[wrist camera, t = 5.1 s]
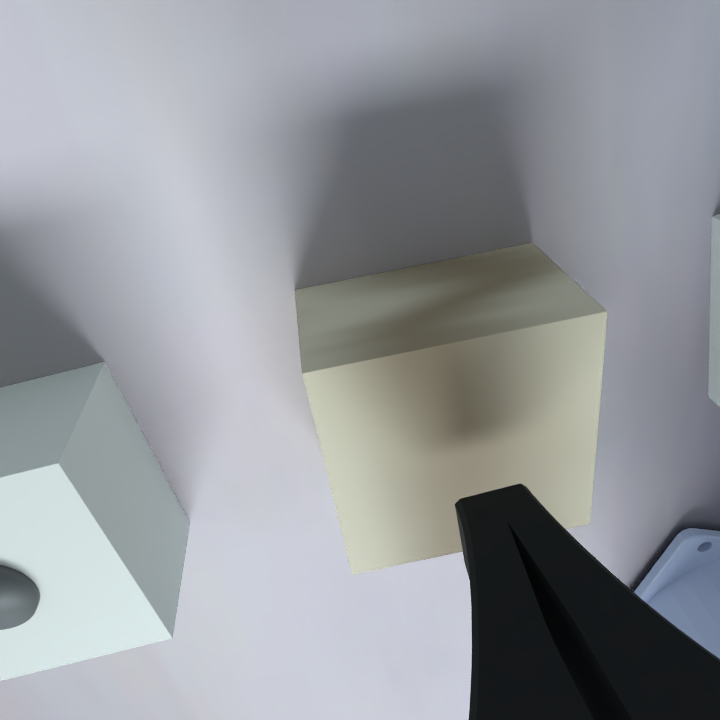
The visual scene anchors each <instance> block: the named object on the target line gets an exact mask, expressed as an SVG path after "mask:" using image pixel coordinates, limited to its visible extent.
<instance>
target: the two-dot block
mask: <svg viewBox="0 0 720 720" xmlns="http://www.w3.org/2000/svg"><path fill="white" fill-rule="evenodd" d="M708 397H709V398H710V399H711V400H712V401H714V402H715V403H716V404H717V405H718V406H719V407H720V214H718V215H715V216H712V236H711V286H710V337H709V388H708Z"/></svg>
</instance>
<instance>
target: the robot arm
mask: <svg viewBox="0 0 720 720" xmlns="http://www.w3.org/2000/svg"><path fill="white" fill-rule="evenodd" d="M455 509H456V515H457V520H458V526H459V532H460V538H461V543H462V549H463V555H464V561H465V565H466V569H467V572H468V575H469V579H470V589H471V605H472V672H471V694H470V711H469V720H720V531H714V530H706V529H697V528H688V529H685V530H683V531H681V532H680V533H679V534H678V535H677V536H676V537H675V538H674V540H673V541H672V542H671V544H670V545H669V546H668V548H667V549H666V550H665V552H664V553H663V554H662V556H661V557H660V558H659V560H658V561H657V562H656V564H655V565H654V566H653V567H652V569H651V570H650V571H649V573H648V574H647V575H646V577H645V578H644V579H643V581H642V582H641V583H640V585H639V586H638V587H637V589H636V590H635V591H634V592H633V591H632V590H630V589H629V588H628V587H627V586H626V585H625V584H623V583H622V582H621V581H620V580H619V579H618V578H617V577H615V576H614V575H613V574H612V573H611V572H610V571H609V570H608V569H607V568H605V567H604V566H603V565H602V564H601V563H600V562H599V561H598V560H597V559H596V558H595V557H594V556H593V555H591V554H590V553H589V552H588V551H587V550H586V549H585V548H584V547H583V546H582V545H581V544H580V543H579V542H578V541H577V540H576V539H575V538H574V537H573V536H572V535H571V534H570V533H569V532H568V531H567V530H566V529H565V528H564V527H563V526H562V525H561V524H560V523H559V522H558V521H557V520H556V519H555V518H554V517H553V516H552V515H551V514H550V513H549V512H548V511H547V510H546V508H545V507H544V506H543V505H542V504H541V503H540V502H539V501H538V500H537V499H536V497H535V496H534V495H533V494H532V493H531V492H530V490H529V489H528V488H527V487H526V486H524V485H523V484H521V483H520V484H516V485H512V486H508V487H504V488H500V489H496V490H492V491H488V492H484V493H480V494H476V495H473V496H469V497H465V498H461V499H459V500H458V501H457V502H456V503H455Z"/></svg>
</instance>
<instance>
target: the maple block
mask: <svg viewBox="0 0 720 720" xmlns="http://www.w3.org/2000/svg"><path fill="white" fill-rule="evenodd" d="M295 300H296V311H297V323H298V334H299V345H300V356H301V368H302V375H303V379H304V383H305V387H306V391H307V395H308V399H309V403H310V407H311V411H312V415H313V419H314V423H315V427H316V431H317V435H318V439H319V443H320V447H321V451H322V455H323V459H324V463H325V467H326V471H327V475H328V479H329V483H330V487H331V491H332V495H333V499H334V503H335V507H336V511H337V515H338V519H339V523H340V527H341V531H342V535H343V539H344V543H345V547H346V551H347V555H348V559H349V563H350V567H351V571H352V575H355V574H359V573H364V572H369V571H373V570H378V569H383V568H387V567H392V566H397V565H401V564H406V563H411V562H415V561H420V560H425V559H429V558H434V557H439V556H443V555H448V554H453V553H457V552H462V551H463V549H462V543H461V538H460V532H459V526H458V520H457V515H456V509H455V503H456V502H457V501H458V500H459V499H461V498H465V497H469V496H473V495H476V494H480V493H484V492H488V491H492V490H496V489H500V488H504V487H508V486H512V485H516V484H520V483H521V484H523V485H524V486H526V487H527V488H528V489H529V490H530V492H531V493H532V494H533V495H534V496H535V497H536V499H537V500H538V501H539V502H540V503H541V504H542V505H543V506H544V507H545V508H546V510H547V511H548V512H549V513H550V514H551V515H552V516H553V517H554V518H555V519H556V520H557V521H558V522H559V523H560V524H561V525H562V526H563V527H564V528H565V529H569V528H574V527H579V526H583V525H588V524H590V519H591V507H592V495H593V483H594V470H595V458H596V446H597V434H598V422H599V410H600V398H601V386H602V373H603V361H604V349H605V337H606V325H607V313H608V311H607V310H605V309H604V308H603V307H602V306H601V305H600V304H599V303H598V302H597V301H596V300H595V299H593V298H592V297H591V296H590V295H589V294H588V293H587V292H586V291H585V290H584V289H583V288H581V287H580V286H579V285H578V284H577V283H576V282H575V281H574V280H573V279H572V278H571V277H569V276H568V275H567V274H566V273H565V272H564V271H563V270H562V269H561V268H560V267H559V266H557V265H556V264H555V263H554V262H553V261H552V260H551V259H550V258H549V257H548V256H547V255H545V254H544V253H543V252H542V251H541V250H540V249H539V248H538V247H537V246H536V245H535V244H533V243H528V244H523V245H518V246H513V247H508V248H503V249H498V250H493V251H488V252H483V253H478V254H472V255H467V256H462V257H457V258H452V259H447V260H442V261H437V262H432V263H427V264H422V265H417V266H412V267H407V268H402V269H397V270H392V271H387V272H382V273H377V274H372V275H367V276H362V277H357V278H352V279H347V280H342V281H337V282H332V283H327V284H322V285H317V286H312V287H307V288H302V289H297V290H295Z"/></svg>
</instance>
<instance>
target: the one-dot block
mask: <svg viewBox="0 0 720 720" xmlns="http://www.w3.org/2000/svg"><path fill="white" fill-rule="evenodd" d="M189 526H190V522H189V521H188V519H187V517H186V515H185V513H184V511H183V509H182V507H181V505H180V503H179V502H178V500H177V498H176V496H175V494H174V492H173V490H172V488H171V486H170V485H169V483H168V481H167V479H166V477H165V475H164V473H163V471H162V469H161V467H160V466H159V464H158V462H157V460H156V458H155V456H154V454H153V452H152V450H151V448H150V447H149V445H148V443H147V441H146V439H145V437H144V435H143V433H142V431H141V430H140V428H139V426H138V424H137V422H136V420H135V418H134V416H133V414H132V412H131V411H130V409H129V407H128V405H127V403H126V401H125V399H124V397H123V395H122V393H121V392H120V390H119V388H118V386H117V384H116V382H115V380H114V378H113V376H112V375H111V373H110V371H109V369H108V367H107V365H106V363H105V362H102V363H97V364H93V365H89V366H85V367H81V368H77V369H73V370H69V371H65V372H61V373H57V374H53V375H49V376H45V377H41V378H37V379H33V380H29V381H25V382H21V383H17V384H13V385H9V386H5V387H0V681H2V680H6V679H10V678H14V677H18V676H22V675H26V674H30V673H35V672H39V671H43V670H47V669H51V668H55V667H59V666H63V665H67V664H71V663H75V662H79V661H83V660H87V659H91V658H95V657H99V656H103V655H107V654H111V653H115V652H119V651H123V650H127V649H131V648H135V647H139V646H143V645H147V644H151V643H155V642H159V641H163V640H167V639H171V638H173V632H174V625H175V618H176V612H177V605H178V599H179V592H180V586H181V579H182V572H183V566H184V559H185V553H186V546H187V539H188V533H189Z"/></svg>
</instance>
